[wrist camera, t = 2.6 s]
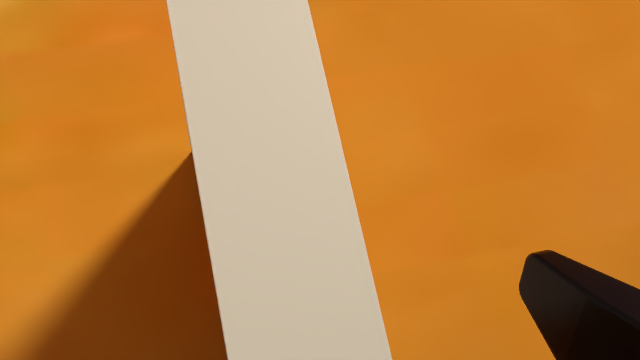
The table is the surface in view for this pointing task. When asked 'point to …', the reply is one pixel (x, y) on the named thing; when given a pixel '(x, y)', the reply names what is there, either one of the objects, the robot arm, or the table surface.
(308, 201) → the notched plate
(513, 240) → the table surface
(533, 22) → the table surface
